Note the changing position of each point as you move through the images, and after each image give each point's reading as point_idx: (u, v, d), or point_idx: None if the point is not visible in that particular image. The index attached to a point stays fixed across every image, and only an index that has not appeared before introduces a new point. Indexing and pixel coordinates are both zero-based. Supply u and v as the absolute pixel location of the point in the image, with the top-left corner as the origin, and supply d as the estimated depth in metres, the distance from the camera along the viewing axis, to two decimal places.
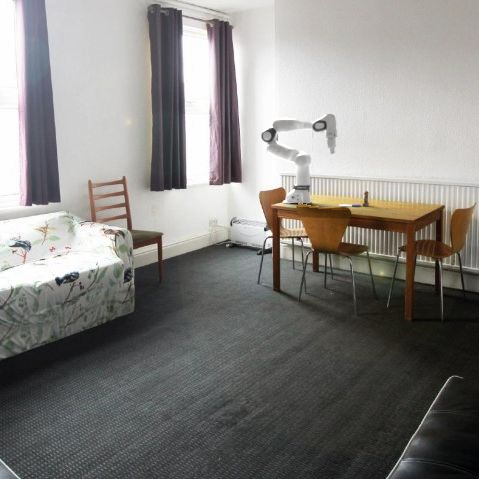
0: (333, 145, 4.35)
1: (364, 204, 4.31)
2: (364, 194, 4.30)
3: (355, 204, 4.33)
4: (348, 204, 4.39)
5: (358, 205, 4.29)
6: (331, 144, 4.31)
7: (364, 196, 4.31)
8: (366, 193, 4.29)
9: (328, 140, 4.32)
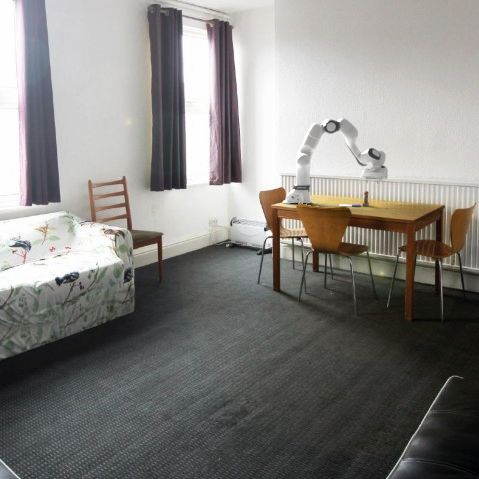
0: None
1: (364, 204, 4.31)
2: (364, 194, 4.30)
3: (355, 204, 4.33)
4: (348, 204, 4.39)
5: (358, 205, 4.29)
6: (387, 176, 4.39)
7: (364, 196, 4.31)
8: (366, 193, 4.29)
9: (386, 171, 4.39)
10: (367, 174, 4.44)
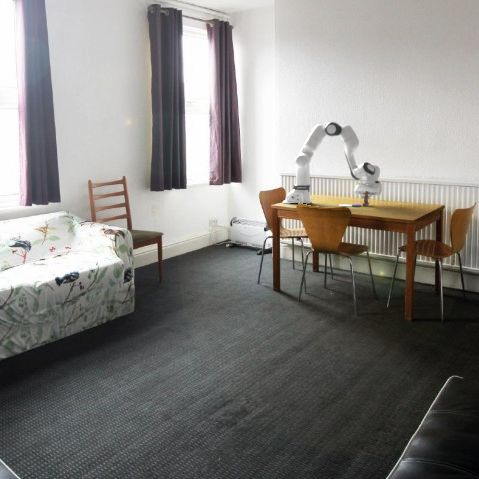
0: None
1: (364, 204, 4.31)
2: (364, 194, 4.30)
3: (355, 204, 4.33)
4: (348, 204, 4.39)
5: (358, 205, 4.29)
6: (381, 192, 4.30)
7: (364, 196, 4.31)
8: (366, 193, 4.29)
9: (381, 187, 4.30)
10: (361, 189, 4.35)
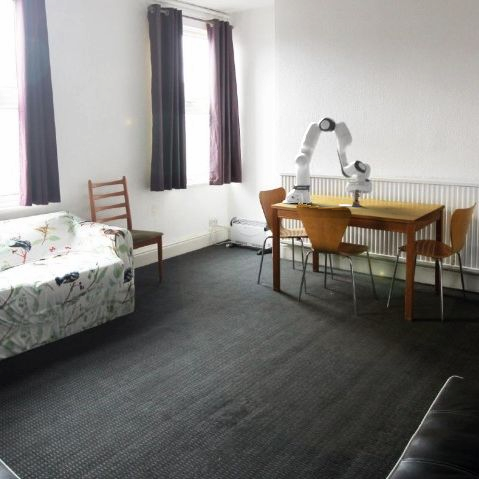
0: None
1: (354, 202, 4.30)
2: (354, 192, 4.30)
3: None
4: (348, 204, 4.39)
5: (358, 205, 4.29)
6: (371, 190, 4.30)
7: (354, 194, 4.30)
8: (356, 191, 4.29)
9: (371, 185, 4.30)
10: (351, 187, 4.35)
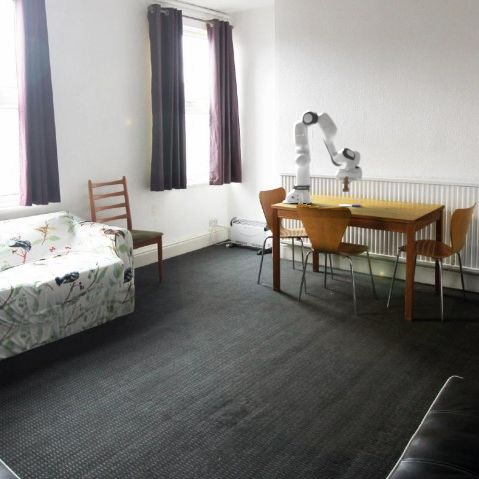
0: None
1: (344, 189, 4.32)
2: (344, 179, 4.31)
3: (355, 204, 4.33)
4: (348, 204, 4.39)
5: (358, 205, 4.29)
6: (361, 177, 4.31)
7: (344, 181, 4.32)
8: (346, 178, 4.30)
9: (361, 172, 4.31)
10: (341, 175, 4.36)
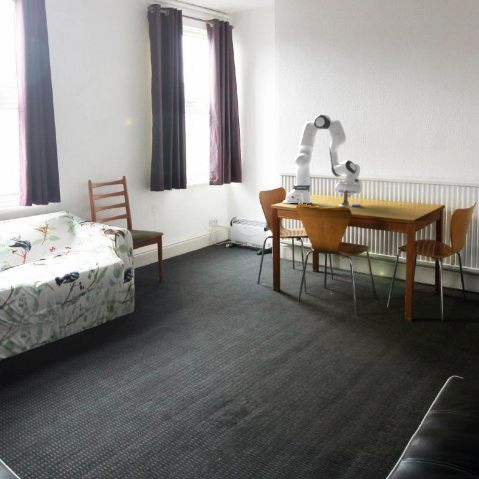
0: None
1: (344, 203, 4.34)
2: (344, 193, 4.33)
3: (355, 204, 4.33)
4: None
5: (358, 205, 4.29)
6: None
7: (344, 195, 4.34)
8: (346, 192, 4.32)
9: (360, 185, 4.33)
10: (341, 187, 4.38)
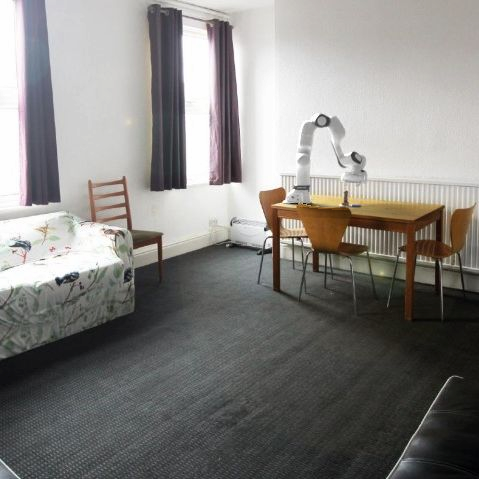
0: None
1: (344, 203, 4.34)
2: (344, 193, 4.33)
3: (355, 204, 4.33)
4: None
5: (358, 205, 4.29)
6: (366, 181, 4.43)
7: (344, 195, 4.34)
8: (346, 192, 4.32)
9: (366, 176, 4.43)
10: (347, 177, 4.48)
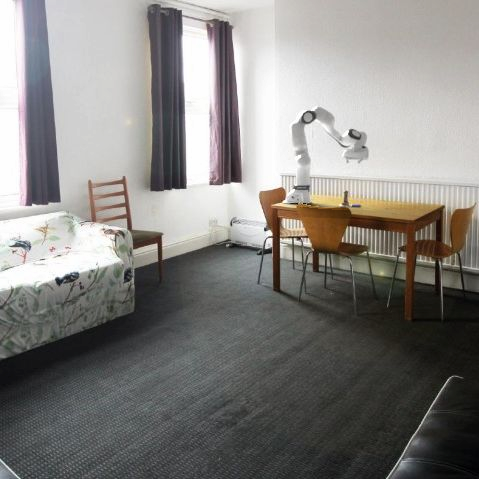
0: None
1: (344, 203, 4.34)
2: (344, 193, 4.33)
3: (355, 204, 4.33)
4: None
5: (358, 205, 4.29)
6: None
7: (344, 195, 4.34)
8: (346, 192, 4.32)
9: (367, 151, 4.40)
10: (348, 154, 4.46)
